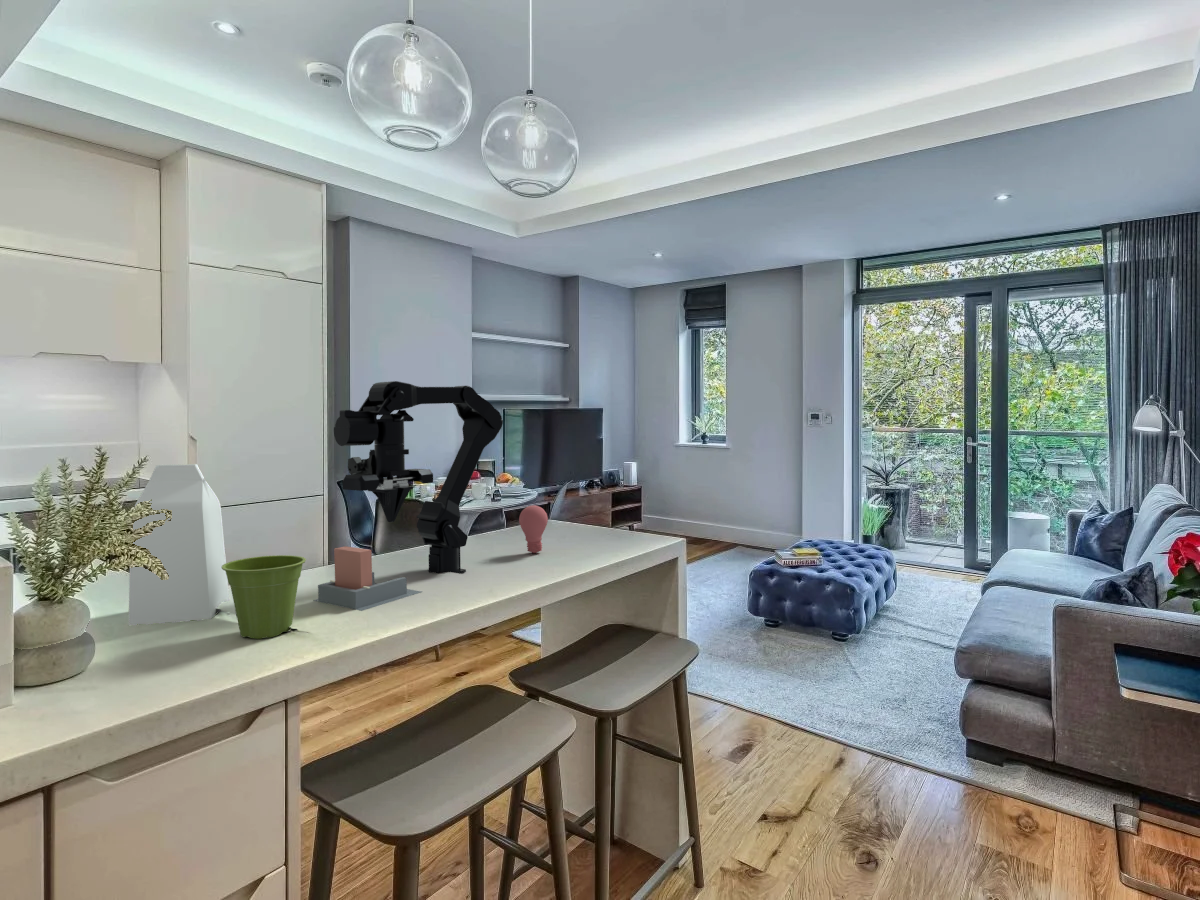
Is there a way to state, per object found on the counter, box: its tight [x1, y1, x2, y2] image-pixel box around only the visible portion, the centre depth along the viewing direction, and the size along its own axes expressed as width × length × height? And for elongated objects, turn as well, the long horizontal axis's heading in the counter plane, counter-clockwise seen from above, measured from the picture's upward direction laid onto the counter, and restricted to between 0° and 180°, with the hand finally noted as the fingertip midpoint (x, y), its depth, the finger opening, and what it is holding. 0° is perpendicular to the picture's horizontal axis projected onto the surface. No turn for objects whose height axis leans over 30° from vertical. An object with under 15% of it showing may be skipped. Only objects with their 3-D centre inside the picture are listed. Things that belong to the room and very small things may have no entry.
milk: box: [128, 463, 230, 626], centre depth 113 cm, size 12×12×26 cm
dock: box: [313, 571, 423, 612], centre depth 120 cm, size 14×13×4 cm
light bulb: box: [518, 505, 549, 554], centre depth 163 cm, size 7×7×12 cm
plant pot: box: [222, 554, 307, 640], centre depth 103 cm, size 12×12×11 cm
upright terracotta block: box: [333, 545, 373, 590], centre depth 118 cm, size 3×7×9 cm, turn 60°
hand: (390, 521), depth 131 cm, fingers closed
